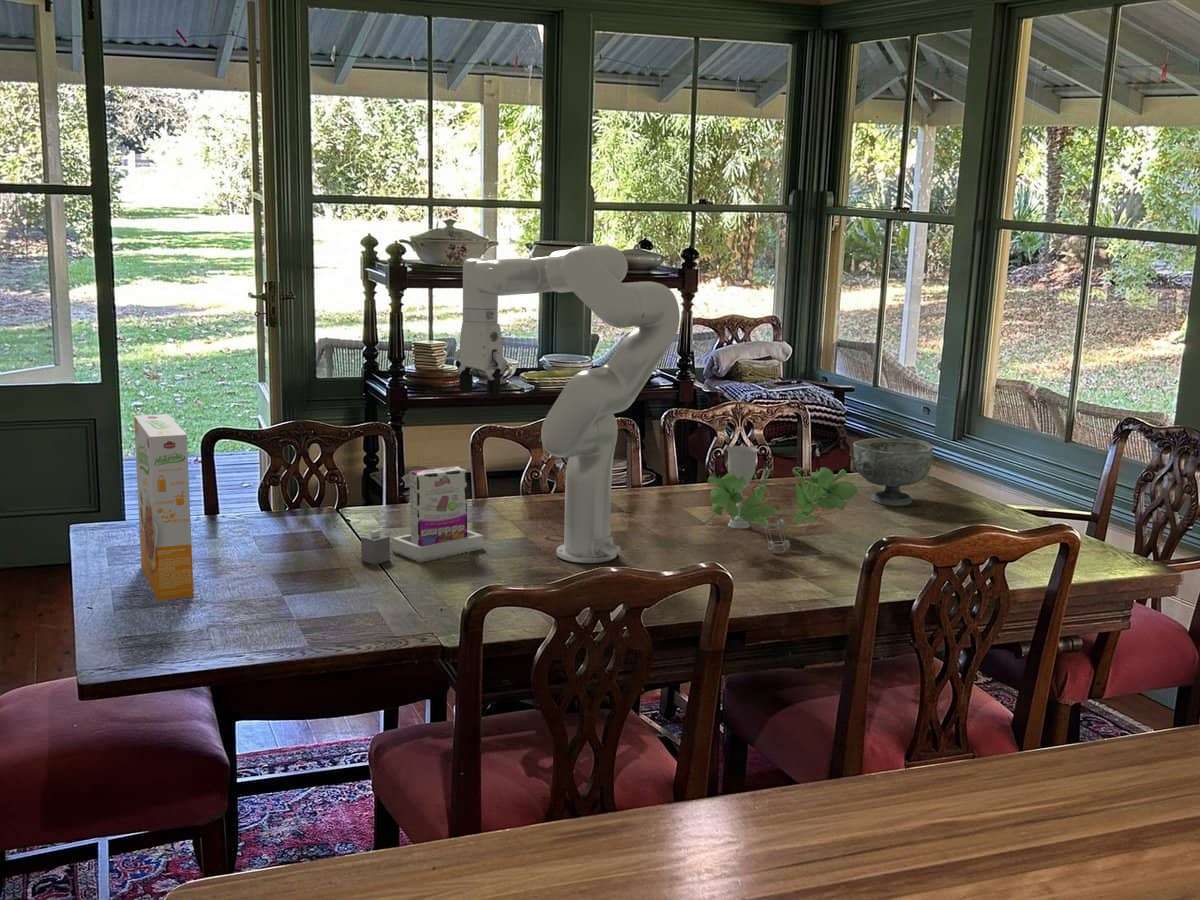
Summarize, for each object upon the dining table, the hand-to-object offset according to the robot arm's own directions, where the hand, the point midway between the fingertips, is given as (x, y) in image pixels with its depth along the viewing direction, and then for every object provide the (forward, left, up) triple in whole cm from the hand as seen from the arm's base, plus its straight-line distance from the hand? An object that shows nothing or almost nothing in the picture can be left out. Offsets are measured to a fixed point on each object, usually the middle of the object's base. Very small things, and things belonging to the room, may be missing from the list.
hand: (479, 394), depth 267 cm
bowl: (-42, -98, -31) cm, 111 cm away
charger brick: (-6, +31, -30) cm, 44 cm away
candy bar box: (-8, +17, -30) cm, 35 cm away
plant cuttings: (-49, -41, -31) cm, 71 cm away
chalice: (-34, -49, -31) cm, 67 cm away
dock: (-8, +17, -30) cm, 36 cm away
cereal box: (+7, +69, -31) cm, 76 cm away
